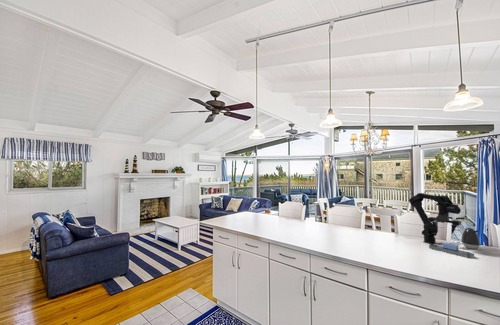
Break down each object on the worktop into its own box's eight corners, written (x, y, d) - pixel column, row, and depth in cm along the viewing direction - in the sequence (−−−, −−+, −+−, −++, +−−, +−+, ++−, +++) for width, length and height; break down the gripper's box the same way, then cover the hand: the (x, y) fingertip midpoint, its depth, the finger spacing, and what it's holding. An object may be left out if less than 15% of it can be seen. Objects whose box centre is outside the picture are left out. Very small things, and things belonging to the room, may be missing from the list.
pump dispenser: (475, 250, 161) (473, 229, 162) (458, 246, 171) (457, 226, 172) (484, 249, 164) (483, 229, 165) (467, 245, 174) (466, 225, 175)
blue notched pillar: (442, 251, 160) (442, 243, 160) (444, 250, 162) (443, 242, 162) (457, 254, 153) (456, 246, 153) (458, 253, 155) (458, 245, 155)
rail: (428, 248, 166) (428, 245, 166) (431, 247, 169) (431, 243, 169) (471, 258, 145) (471, 255, 146) (474, 257, 148) (474, 253, 149)
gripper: (424, 211, 173) (425, 230, 172) (455, 214, 157) (456, 236, 156) (430, 209, 179) (431, 229, 178) (461, 213, 162) (462, 234, 162)
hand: (444, 232), depth 168 cm, fingers open, 9 cm apart
